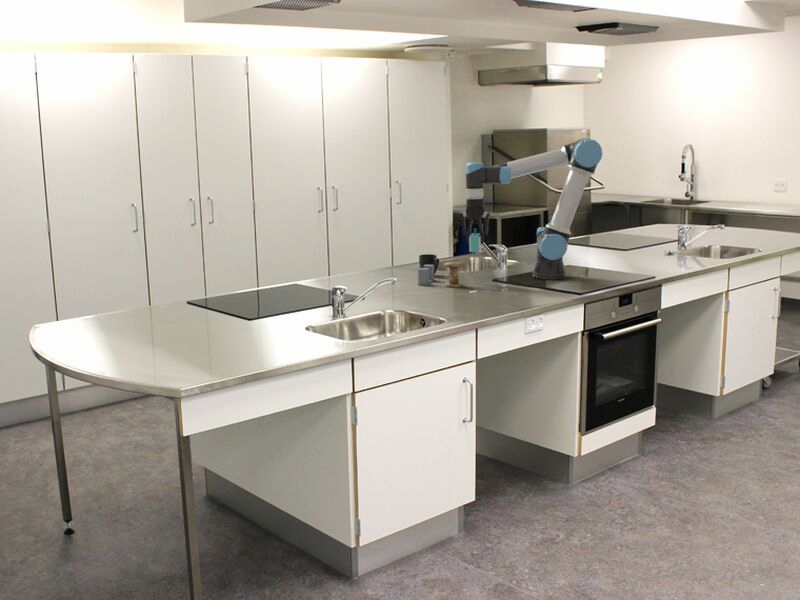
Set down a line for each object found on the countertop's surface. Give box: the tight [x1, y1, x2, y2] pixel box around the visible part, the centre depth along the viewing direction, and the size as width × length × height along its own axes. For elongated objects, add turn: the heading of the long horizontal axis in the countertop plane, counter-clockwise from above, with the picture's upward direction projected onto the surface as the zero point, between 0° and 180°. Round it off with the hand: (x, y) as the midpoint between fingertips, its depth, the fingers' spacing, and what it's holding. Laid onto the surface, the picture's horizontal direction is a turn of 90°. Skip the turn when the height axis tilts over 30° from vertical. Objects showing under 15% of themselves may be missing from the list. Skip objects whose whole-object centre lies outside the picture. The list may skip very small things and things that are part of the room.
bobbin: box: [444, 261, 464, 288], centre depth 384 cm, size 8×8×10 cm
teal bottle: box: [470, 227, 480, 253], centre depth 388 cm, size 4×4×10 cm
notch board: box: [417, 265, 435, 286], centre depth 394 cm, size 4×14×7 cm, turn 165°
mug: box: [418, 253, 440, 275], centre depth 411 cm, size 8×12×10 cm
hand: (475, 251), depth 389 cm, fingers closed on teal bottle, 3 cm apart
